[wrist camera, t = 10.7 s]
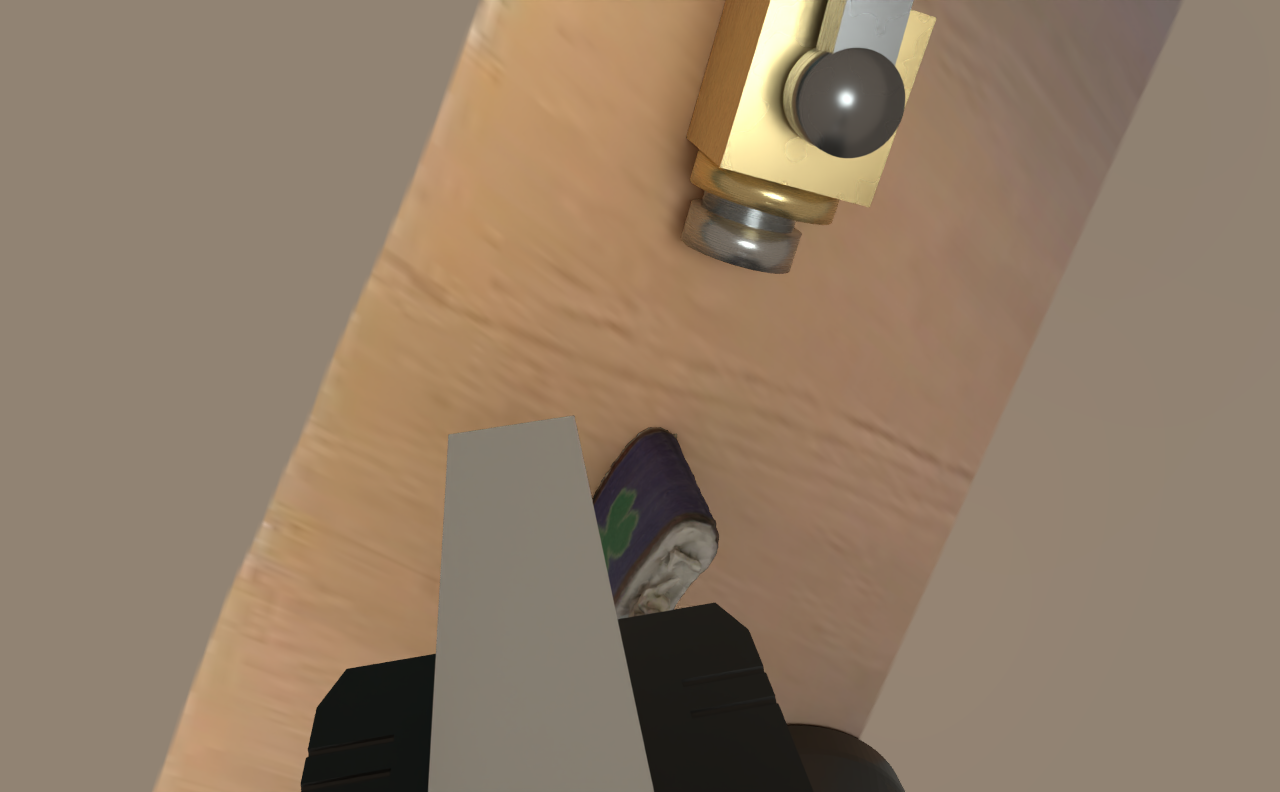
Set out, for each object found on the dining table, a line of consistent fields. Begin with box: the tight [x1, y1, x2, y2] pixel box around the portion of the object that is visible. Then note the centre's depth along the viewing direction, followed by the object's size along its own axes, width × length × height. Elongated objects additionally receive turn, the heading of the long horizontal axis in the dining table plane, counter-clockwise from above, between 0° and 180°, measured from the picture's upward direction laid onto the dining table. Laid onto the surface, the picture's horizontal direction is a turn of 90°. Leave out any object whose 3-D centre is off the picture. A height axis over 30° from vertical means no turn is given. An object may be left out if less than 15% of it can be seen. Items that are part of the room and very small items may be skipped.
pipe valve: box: [681, 0, 936, 274], centre depth 43 cm, size 15×6×8 cm, turn 164°
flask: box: [593, 427, 719, 619], centre depth 48 cm, size 9×3×11 cm, turn 153°
